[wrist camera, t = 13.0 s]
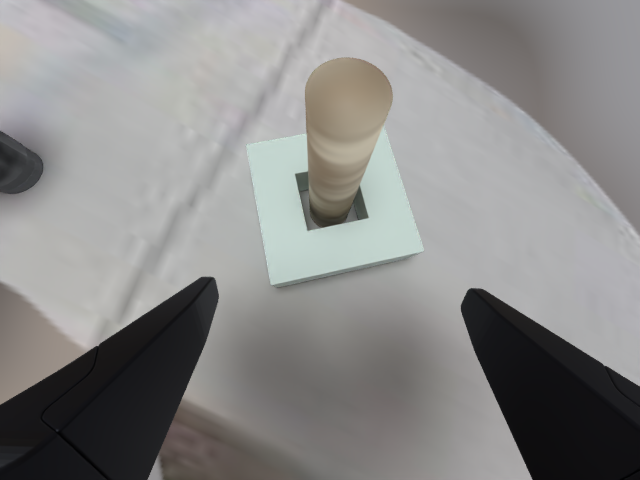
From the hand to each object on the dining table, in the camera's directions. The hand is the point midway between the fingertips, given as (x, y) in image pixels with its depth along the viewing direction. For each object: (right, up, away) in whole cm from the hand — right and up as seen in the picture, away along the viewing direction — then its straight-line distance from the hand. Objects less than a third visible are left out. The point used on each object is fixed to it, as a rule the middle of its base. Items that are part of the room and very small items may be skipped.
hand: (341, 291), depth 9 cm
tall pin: (0, +5, +15) cm, 16 cm away
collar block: (0, +5, +15) cm, 16 cm away
